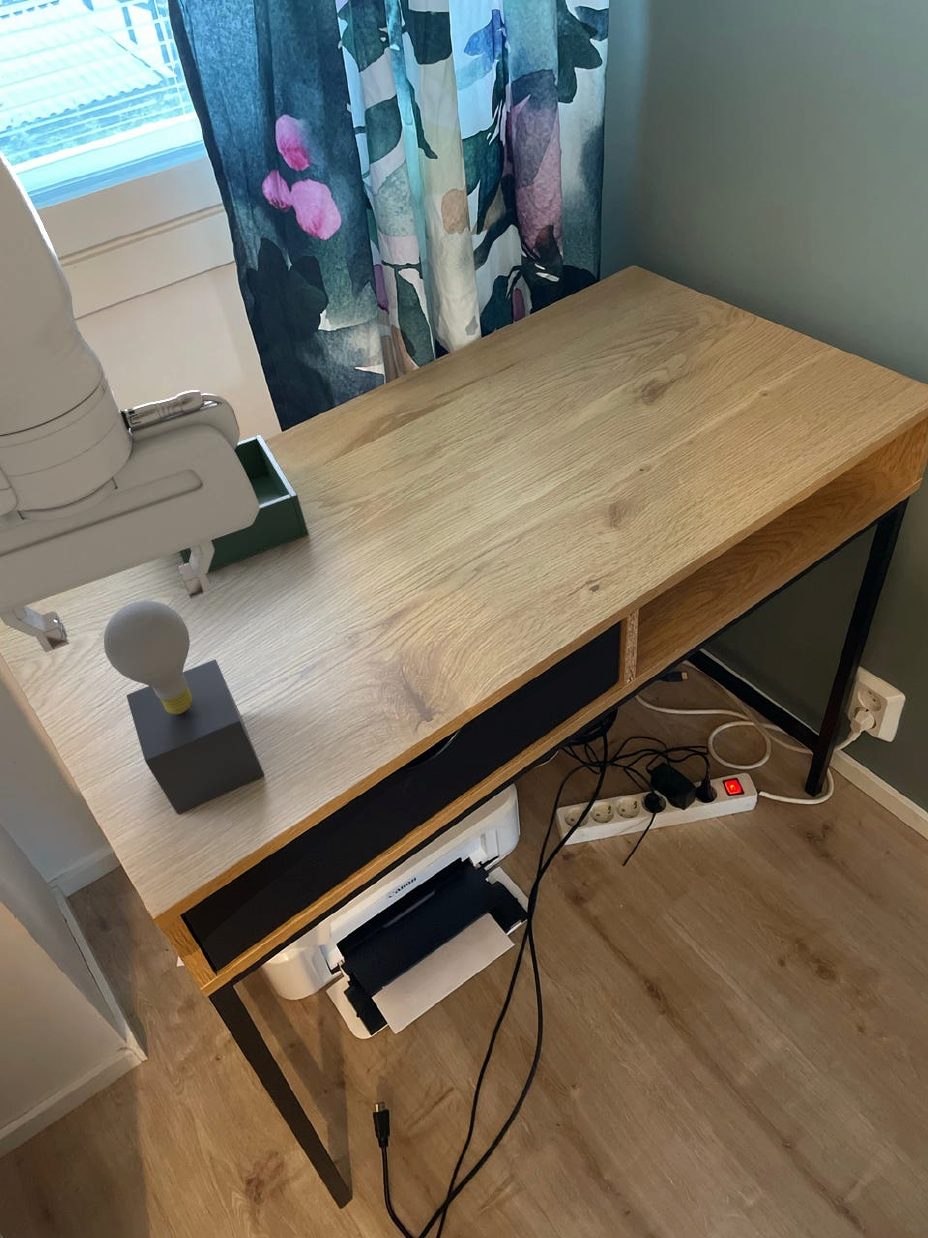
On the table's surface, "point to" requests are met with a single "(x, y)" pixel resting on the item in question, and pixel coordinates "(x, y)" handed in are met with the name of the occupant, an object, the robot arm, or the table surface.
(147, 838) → the table surface
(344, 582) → the table surface
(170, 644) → the light bulb
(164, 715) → the block
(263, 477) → the green open square box
